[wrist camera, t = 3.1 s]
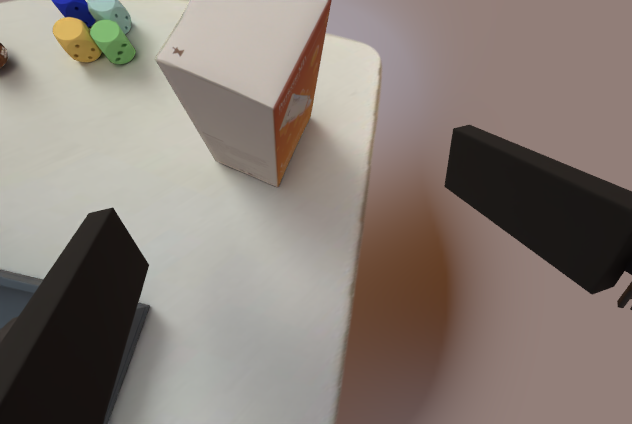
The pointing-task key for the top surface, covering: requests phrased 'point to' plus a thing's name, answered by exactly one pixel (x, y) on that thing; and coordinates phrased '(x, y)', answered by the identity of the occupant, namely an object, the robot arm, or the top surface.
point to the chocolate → (3, 55)
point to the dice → (94, 30)
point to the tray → (16, 290)
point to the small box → (247, 77)
